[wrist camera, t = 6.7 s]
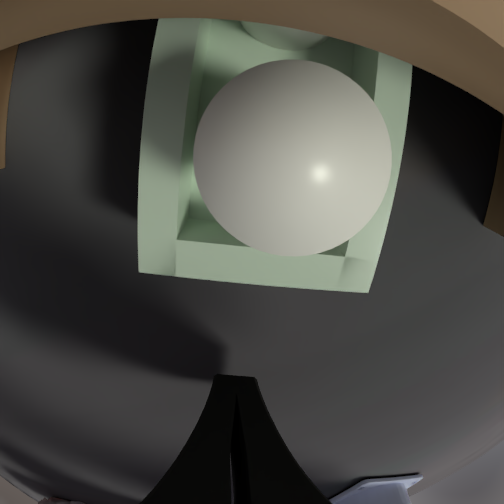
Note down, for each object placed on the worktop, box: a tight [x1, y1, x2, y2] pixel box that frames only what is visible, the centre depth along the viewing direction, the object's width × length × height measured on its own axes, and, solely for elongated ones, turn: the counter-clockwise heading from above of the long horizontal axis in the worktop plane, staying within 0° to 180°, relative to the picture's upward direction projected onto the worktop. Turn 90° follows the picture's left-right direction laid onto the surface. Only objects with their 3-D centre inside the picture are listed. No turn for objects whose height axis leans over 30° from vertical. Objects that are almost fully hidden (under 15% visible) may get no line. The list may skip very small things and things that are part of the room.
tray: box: [138, 18, 412, 293], centre depth 5 cm, size 9×5×4 cm, turn 173°
